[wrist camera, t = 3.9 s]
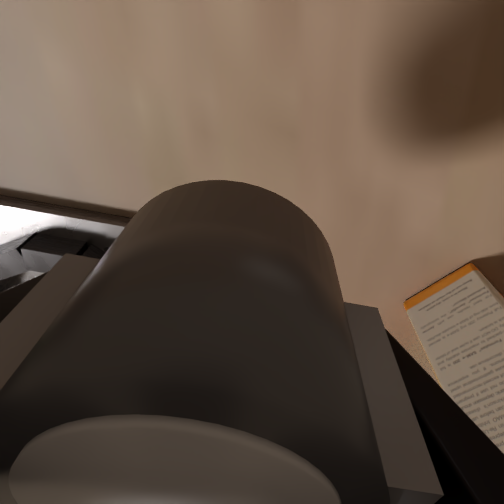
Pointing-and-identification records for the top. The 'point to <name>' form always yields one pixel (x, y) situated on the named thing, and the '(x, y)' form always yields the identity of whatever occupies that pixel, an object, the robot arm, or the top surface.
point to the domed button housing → (205, 369)
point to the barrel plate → (49, 237)
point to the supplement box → (465, 344)
